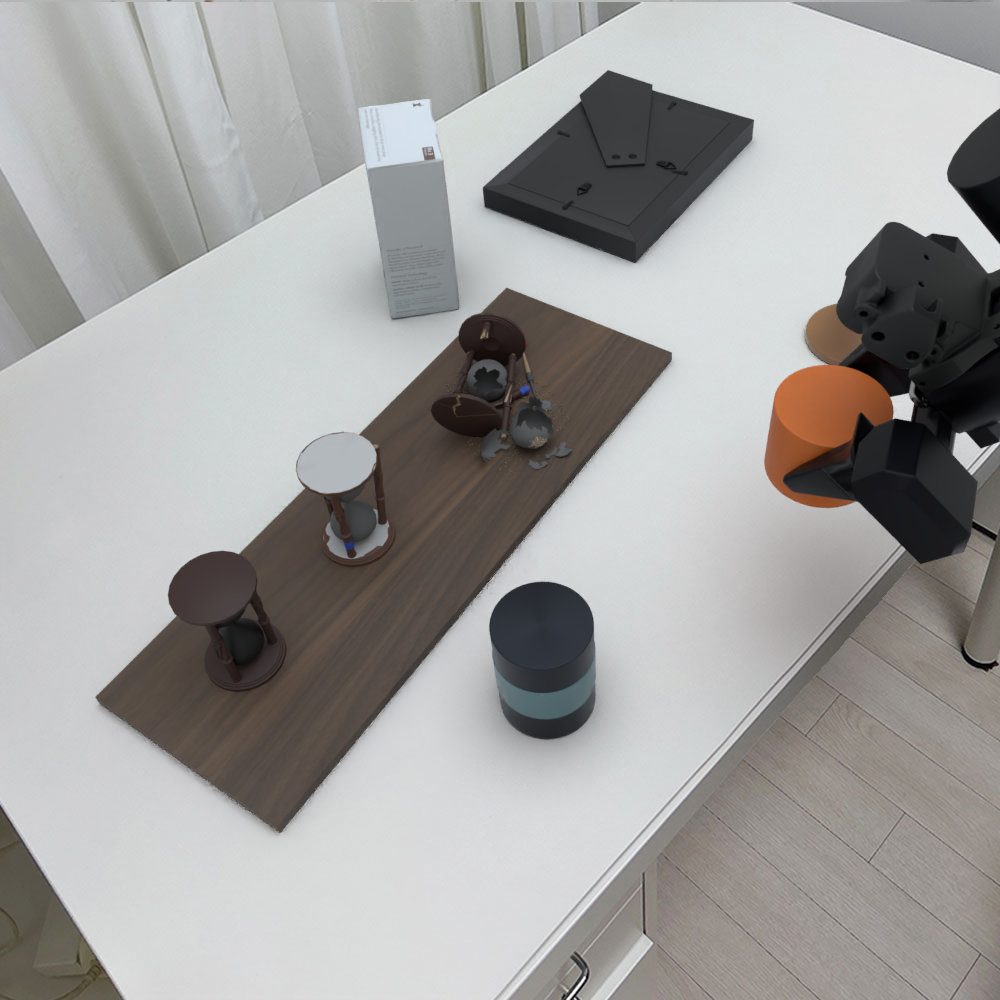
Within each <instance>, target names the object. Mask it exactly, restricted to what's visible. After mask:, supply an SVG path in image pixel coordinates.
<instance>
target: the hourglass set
mask: <svg viewBox="0 0 1000 1000" xmlns="http://www.w3.org/2000/svg"><path fill="white" fill-rule="evenodd" d="M672 360H673V352H672V351H670V350H667V349H665V348H662V347H659V346H657V345H654V344H652V343H648V342H646V341H644V340H641V339H639V338H636V337H634V336H631V335H628V334H626V333H623V332H621V331H619V330H616V329H613V328H611V327H608V326H606V325H603V324H601V323H598V322H595V321H593V320H590V319H587V318H585V317H583V316H580V315H577V314H575V313H573V312H570V311H568V310H565V309H563V308H559V307H557V306H556V305H555V306H554V305H552V304H549V303H547V302H545V301H542V300H539V299H537V298H535V297H533V296H528V295H527V294H524V293H522V292H519V291H516V290H513V289H511V288H509V287H506V288H504V289H503V290H502V291H501V292H500V293H499V294H498V295H497V296H496V297H495V299H493V300H492V301H491V302H490V303H489V304H488V305H487V306H486V308H484V309H483V310H482V311H481V312H480V313H476V314H472V315H471V316H469V317H467V318H466V319H465V320H464V321H463V322H462V323H461V325H460V326H459V331H458V335H457V336H456V337H455V338H454V339H453V340H452V341H451V342H450V343H449V344H448V345H447V346H446V347H445V348H444V349H443V350H442V351H441V352H440V353H438V355H437V356H436V357H435V358H434V359H433V360H432V361H431V362H430V363H429V364H428V365H427V366H426V367H425V368H424V369H423V370H422V371H421V372H420V373H419V374H418V375H417V376H416V377H415V378H414V379H413V380H412V381H411V382H410V383H409V384H408V385H407V386H406V387H405V388H404V389H403V390H401V392H400V393H399V394H398V395H396V397H395V398H394V399H393V400H392V401H391V402H390V403H389V404H387V406H386V407H385V408H384V409H383V410H382V411H381V412H380V413H379V414H377V416H376V417H375V418H373V420H372V421H370V423H369V424H367V426H366V427H365V428H364V429H363V430H362V431H361V432H360V433H359V434H357V433H355V432H347V431H341V432H339V431H338V432H331V433H327V434H325V435H321V436H319V437H318V438H316V439H314V440H312V441H311V442H309V443H308V444H307V445H306V446H305V447H304V448H303V449H302V451H301V452H300V453H299V455H298V458H297V460H296V462H295V463H296V464H295V472H296V476H297V479H298V481H299V483H300V484H301V485H302V487H303V488H304V489H302V491H300V493H298V494H297V496H295V497H294V498H293V499H292V500H291V502H289V503H288V504H287V506H285V508H284V509H282V510H281V511H280V513H278V514H277V516H275V517H274V518H273V519H272V520H271V521H270V523H269V524H267V525H266V526H265V527H264V528H263V530H261V531H260V532H259V533H258V534H257V535H256V536H255V537H254V538H253V539H252V541H250V542H249V543H248V544H247V545H246V546H245V547H244V548H243V549H242V550H241V551H240V552H238V553H237V552H235V551H228V550H217V551H216V550H215V551H214V550H213V551H209V552H205V553H202V554H200V555H198V556H196V557H194V558H192V559H190V560H188V561H187V562H186V563H185V564H184V565H182V566H180V568H179V569H178V571H177V572H176V573H175V574H174V575H173V577H172V579H171V581H170V583H169V586H168V592H167V599H168V605H169V606H170V608H171V610H172V613H174V615H175V617H174V618H173V619H172V620H171V621H170V622H169V623H168V624H167V625H166V626H165V627H163V629H162V630H161V631H160V632H159V633H158V634H156V635H155V637H154V638H153V639H152V640H151V641H150V642H149V643H148V644H147V645H146V646H144V648H143V649H142V650H141V651H140V652H139V653H138V654H137V655H136V656H135V657H134V658H133V659H132V660H131V661H130V662H129V663H127V664H126V666H125V667H124V668H122V670H121V671H120V672H118V674H117V675H116V676H114V677H113V679H111V681H110V682H109V683H107V684H106V686H105V687H104V688H103V689H102V690H100V692H99V693H97V695H96V696H94V699H96V700H97V702H98V703H99V705H101V706H103V708H105V709H107V710H108V711H109V712H111V713H112V714H114V715H115V716H116V717H117V718H119V719H120V720H122V721H123V722H124V723H126V724H128V726H130V727H132V728H133V729H134V730H136V731H137V732H139V733H140V734H142V736H144V737H145V738H146V739H148V740H150V741H151V742H152V743H154V744H155V745H156V746H158V747H159V748H161V749H162V750H163V751H165V752H167V753H168V754H169V755H170V756H172V757H173V758H175V759H176V760H177V761H179V762H181V764H183V765H184V766H186V767H187V768H189V769H190V770H192V771H193V772H194V773H196V774H197V775H198V776H200V777H202V778H203V779H204V780H206V781H207V782H208V783H210V785H212V786H214V787H215V788H217V789H218V790H219V791H221V792H222V793H224V794H225V795H226V796H227V797H229V798H231V800H233V801H235V802H236V803H237V804H239V805H240V806H242V807H243V808H244V809H246V810H247V811H249V812H250V813H251V814H253V815H254V816H256V817H257V818H258V819H260V820H261V821H262V822H264V823H266V825H268V826H270V827H271V828H272V829H273V830H275V831H277V832H278V833H279V834H281V832H282V831H283V830H284V829H285V827H286V826H287V825H288V824H289V823H290V822H291V820H292V819H293V818H294V817H295V816H296V814H297V813H298V812H299V811H300V810H301V809H302V807H303V806H304V805H305V804H306V802H307V801H308V800H309V799H310V797H311V796H312V795H313V794H314V793H315V791H316V790H317V789H318V788H319V786H321V784H322V783H323V782H324V781H325V779H326V778H327V777H328V776H329V775H330V773H331V772H332V771H333V770H334V769H335V768H336V766H338V764H339V762H340V761H341V760H342V759H343V758H344V756H345V755H346V754H347V753H348V752H349V750H350V749H351V748H352V747H353V745H354V744H355V743H356V742H357V741H358V740H359V739H360V737H361V736H362V735H363V733H364V732H365V731H366V730H367V729H368V727H369V726H370V725H371V724H372V722H374V720H375V719H376V718H377V717H378V716H379V714H380V713H381V712H382V710H383V709H384V708H385V707H386V706H387V704H388V703H389V702H390V701H391V700H392V698H394V696H395V695H396V693H398V692H399V690H400V689H401V688H402V686H403V685H404V684H405V683H406V682H407V681H408V679H409V678H410V677H411V675H412V674H413V673H414V672H415V671H416V670H417V669H418V668H419V666H420V665H421V664H422V662H423V661H424V660H425V659H426V657H427V656H428V655H429V654H430V653H431V651H432V650H433V649H434V648H435V646H437V644H438V643H439V642H440V640H441V639H442V638H443V637H444V636H445V635H446V634H447V632H448V631H449V630H450V628H451V627H452V626H453V625H454V623H455V622H456V621H457V620H458V619H459V618H460V617H461V616H462V614H463V613H464V612H465V610H466V609H467V608H468V607H469V605H470V604H471V603H472V602H473V601H474V599H475V598H476V597H477V596H478V595H479V593H480V592H481V591H482V590H483V589H484V588H485V586H486V585H487V584H488V582H489V581H490V580H492V578H493V577H494V576H495V574H496V573H497V572H498V571H499V569H500V568H501V567H502V566H503V564H504V563H505V562H506V561H507V560H508V559H509V557H510V556H511V555H512V553H514V551H515V550H516V549H517V547H519V545H520V544H521V543H522V542H523V540H524V539H525V538H526V537H527V535H529V533H530V532H531V530H532V529H533V528H534V527H535V526H536V525H537V523H538V522H539V521H540V520H541V519H542V517H543V516H544V515H545V514H546V513H547V512H548V510H549V509H550V508H551V507H552V505H553V504H554V503H556V500H557V499H558V498H559V497H560V496H561V495H562V493H563V492H564V491H565V490H566V488H567V487H568V486H569V485H570V484H571V482H572V481H573V480H574V479H575V478H576V477H577V475H578V474H579V473H580V472H581V471H582V469H583V468H584V467H585V466H586V465H587V463H588V462H589V461H590V459H591V458H592V457H593V456H594V455H595V453H596V452H597V451H598V450H599V449H600V448H601V446H602V445H603V444H604V443H605V442H606V440H607V439H608V438H609V437H610V436H611V434H612V433H613V432H614V431H615V429H616V428H617V427H618V426H619V425H620V423H621V422H622V421H623V420H624V418H625V417H626V416H627V415H628V414H629V413H630V411H632V409H633V407H635V405H636V404H637V403H638V402H639V400H640V399H641V398H642V397H643V396H644V394H645V393H646V392H647V390H648V389H649V388H650V387H651V386H652V384H653V383H655V381H656V380H657V379H658V377H660V375H661V373H663V371H664V370H665V369H666V368H667V367H668V365H669V364H670V363H671V362H672Z"/></svg>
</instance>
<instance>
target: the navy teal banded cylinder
mask: <svg viewBox="0 0 1000 1000" xmlns="http://www.w3.org/2000/svg"><path fill="white" fill-rule="evenodd" d="M490 614H491V615H490V618H489V624H488V631H489V638H490V645H491V657H492V662H493V668H494V669H493V670H494V675H495V681H496V687H497V689H498V690H497V691H498V696H499V701H500V702H499V703H500V707H501V710H502V713H503V715H504V717H505V718H506V720H507V721H508V723H509V724H510V725H511V726H512V727H513V728H514V729H516V730H517V731H518V732H520V733H521V734H524V735H525V736H528V737H531V738H535V739H540V740H555V739H559V738H563V737H566V736H568V735H571V734H573V733H574V732H576V731H578V730H579V729H580V728H581V727H583V725H584V724H586V723H587V721H588V719H590V717H591V715H592V714H593V711H594V708H595V704H596V681H597V680H596V679H597V662H596V661H597V657H596V642H595V619H594V615H593V611H592V609H591V607H590V605H589V604H588V602H587V600H585V598H584V597H583V596H582V595H581V594H580V593H579V592H577V591H575V590H574V589H573V588H571V587H569V586H567V585H564V584H562V583H558V582H552V581H533V582H527V583H525V584H522V585H519V586H517V587H514V588H513V589H511V590H510V591H508V592H507V593H505V594H504V595H503V596H502V597H501V598H500V599H499V601H497V602H496V604H495V606H494V608H493V610H492V611H491V613H490Z"/></svg>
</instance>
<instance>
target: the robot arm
mask: <svg viewBox="0 0 1000 1000" xmlns="http://www.w3.org/2000/svg"><path fill="white" fill-rule="evenodd" d="M946 176H947V182H948V183H949V184H950V185H951V187H952V188H953V189H954V190H955V191H956V193H957V194H958V195H959V197H960V198H961V199H962V201H964V202H965V204H966V205H967V207H968V208H969V209H970V210H971V212H973V214H974V215H975V216H976V218H978V220H979V221H980V222H981V223H982V225H983V226H984V227H985V228H986V229H987V231H988V232H989V234H990V235H991V236H992V237H993V238H994V240H995V241H996V242H997V243H998V244H999V245H1000V107H999V108H998V109H997V110H996V111H994V112H993V113H992V114H990V116H987V117H986V118H985V119H984V120H982V122H981V123H980V124H979V125H978V126H977V127H976V128H975V129H974V130H973V131H971V133H969V135H968V136H967V137H966V138H965V139H964V140H963V141H962V143H961V144H960V146H958V149H956V151H955V153H954V154H953V156H952V157H951V160H950V162H949V164H948V167H947V170H946ZM844 276H845V279H844V283H843V287H842V290H841V294H840V296H839V299H838V300H837V303H836V304H837V306H836V312H837V316H838V318H839V320H840V321H841V322H842V324H843V325H844V326H845V327H847V328H848V329H850V330H851V331H853V332H855V333H857V334H862V337H861V341H862V343H861V344H860V345H859V346H858V347H857V348H856V349H855V350H854V351H852V352H851V353H850V354H849V355H848V356H847V357H846V358H845V359H844V360H843V361H842V362H840V363H839V364H838V366H844V367H848V368H852V369H855V370H858V371H860V372H863V373H865V374H867V375H868V376H870V377H872V378H873V379H875V380H876V381H877V382H878V383H880V384H881V385H882V386H883V387H884V389H885V390H886V391H887V393H888V394H889V396H890V398H892V397H898V396H902V395H907V394H908V397H909V399H910V401H911V402H912V403H913V405H912V406H913V407H912V412H911V417H910V420H907V419H903V418H902V419H901V418H895V417H894V418H893V419H892V420H890V421H887V422H885V423H882V424H880V425H877V426H874V425H873V424H872V423H871V422H870V421H869V420H868V419H867V418H866V416H865V415H864V414H863V413H862V412H860V413H859V414H858V417H857V421H856V425H855V429H854V433H853V437H852V439H851V440H850V441H848V442H846V443H844V444H842V445H840V446H838V447H836V448H834V449H832V450H830V451H828V452H826V453H824V454H822V455H820V456H818V457H816V458H814V459H812V460H810V461H808V462H806V463H804V464H802V465H800V466H798V467H797V468H795V469H794V470H792V471H790V472H789V473H787V474H786V475H784V477H783V483H784V484H785V485H786V486H787V487H788V488H789V489H790V490H791V491H793V492H795V493H801V494H808V495H815V496H822V497H829V498H836V499H843V500H850V501H855V502H856V503H859V505H861V506H862V508H863V509H864V510H865V511H867V513H869V515H871V517H872V518H874V520H876V522H878V523H879V524H880V526H882V528H884V530H886V531H887V532H888V533H889V535H891V537H893V539H895V540H896V542H898V544H899V545H900V546H901V547H902V548H904V550H906V551H907V553H908V554H909V555H910V556H911V557H912V558H913V559H915V561H916V562H918V563H919V564H920V565H922V564H927V563H930V562H934V561H937V560H941V559H945V558H948V557H951V556H955V555H959V554H962V553H964V552H965V550H966V548H967V545H968V543H969V540H970V539H971V536H972V529H973V521H974V513H975V508H976V507H975V506H976V499H977V492H978V491H977V490H978V484H979V482H978V480H977V479H976V478H975V476H973V475H972V474H971V472H969V470H968V469H967V468H966V467H965V466H964V465H963V464H962V463H961V462H960V460H958V459H957V457H956V456H955V455H954V449H955V442H956V437H957V436H956V435H957V434H958V435H960V434H963V433H966V434H967V435H968V436H969V438H970V439H971V440H972V441H973V442H974V443H975V444H976V445H977V447H978V448H979V449H984V448H987V447H989V446H993V445H995V444H998V443H1000V268H998V269H997V270H994V271H992V272H987V270H986V269H985V268H984V267H983V265H982V264H981V263H980V262H979V261H978V260H977V258H976V257H975V256H974V255H973V253H972V252H971V251H970V250H969V248H967V246H966V245H965V244H964V243H963V242H962V240H961V239H960V238H959V236H953V235H947V234H941V233H935V232H933V233H930V234H928V235H926V236H924V235H923V234H921V233H920V232H918V231H916V230H914V229H913V228H911V227H909V226H907V225H905V224H903V223H901V222H897V221H889V222H887V223H885V225H884V226H883V227H882V228H881V229H880V230H879V231H878V232H877V233H876V234H875V236H873V238H872V239H871V240H870V241H869V242H868V244H867V245H866V246H865V247H864V248H863V249H862V250H861V251H860V252H859V254H857V256H856V257H855V258H854V259H853V260H852V262H850V264H849V265H848V266H847V267H846V270H845V273H844ZM855 502H854V503H855Z"/></svg>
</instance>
